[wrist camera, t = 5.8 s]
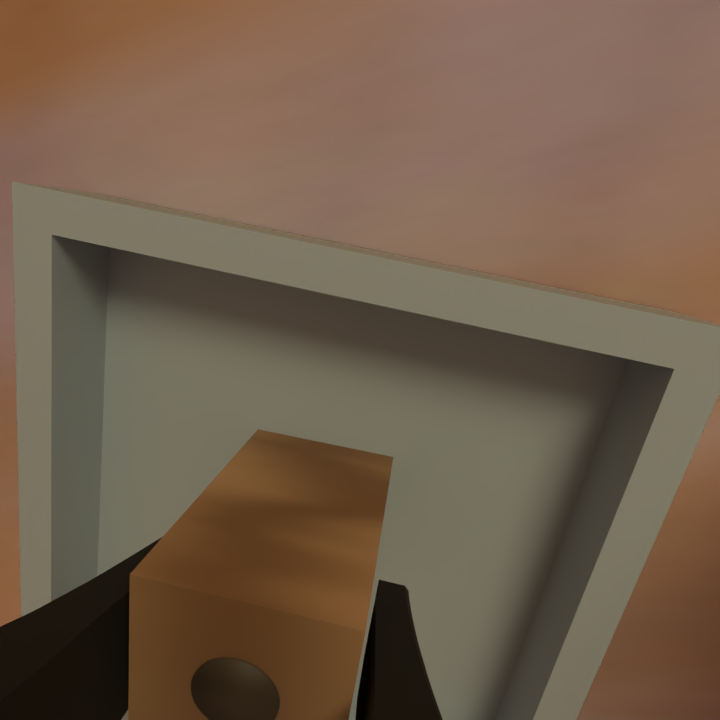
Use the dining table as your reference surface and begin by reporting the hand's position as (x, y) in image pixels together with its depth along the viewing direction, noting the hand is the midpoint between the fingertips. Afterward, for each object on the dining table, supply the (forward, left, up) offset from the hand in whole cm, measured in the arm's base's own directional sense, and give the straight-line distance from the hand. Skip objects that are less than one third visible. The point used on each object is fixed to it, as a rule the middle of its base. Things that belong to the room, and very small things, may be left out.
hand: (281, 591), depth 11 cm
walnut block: (0, 0, -3) cm, 3 cm away
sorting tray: (0, 0, -4) cm, 4 cm away
